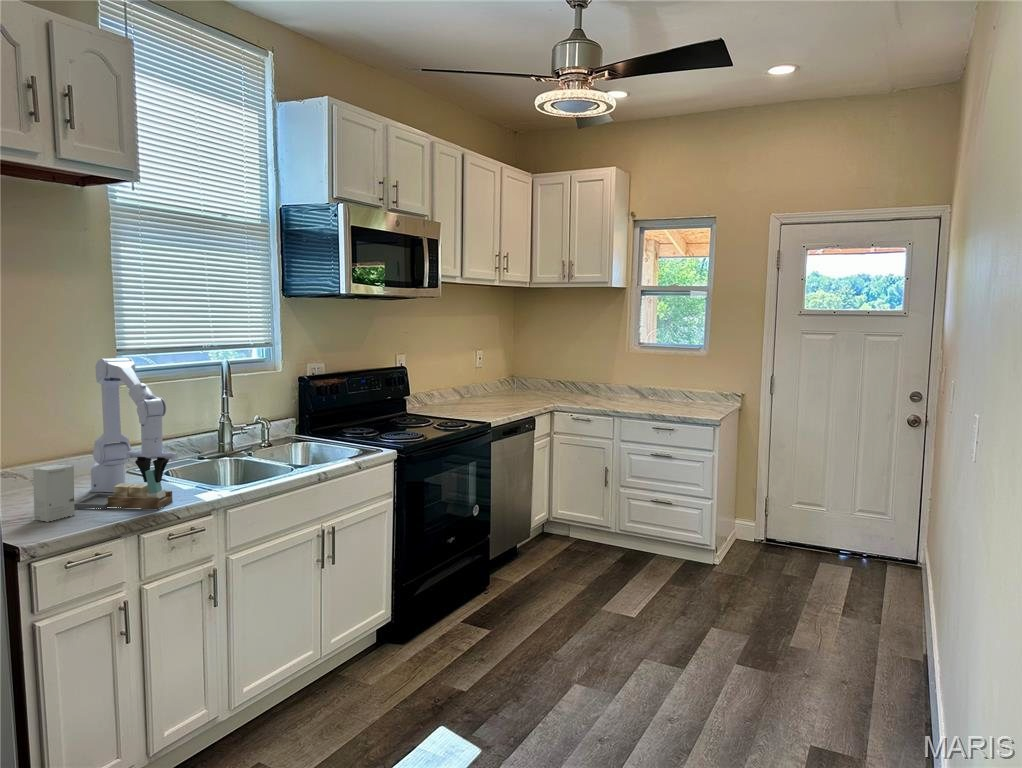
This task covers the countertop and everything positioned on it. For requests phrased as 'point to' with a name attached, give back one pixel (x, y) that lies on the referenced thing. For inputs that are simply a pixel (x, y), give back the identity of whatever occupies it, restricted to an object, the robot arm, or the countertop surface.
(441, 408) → the countertop surface
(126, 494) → the block
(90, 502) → the chip tray
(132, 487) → the block
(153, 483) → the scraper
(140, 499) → the slot board
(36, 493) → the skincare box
